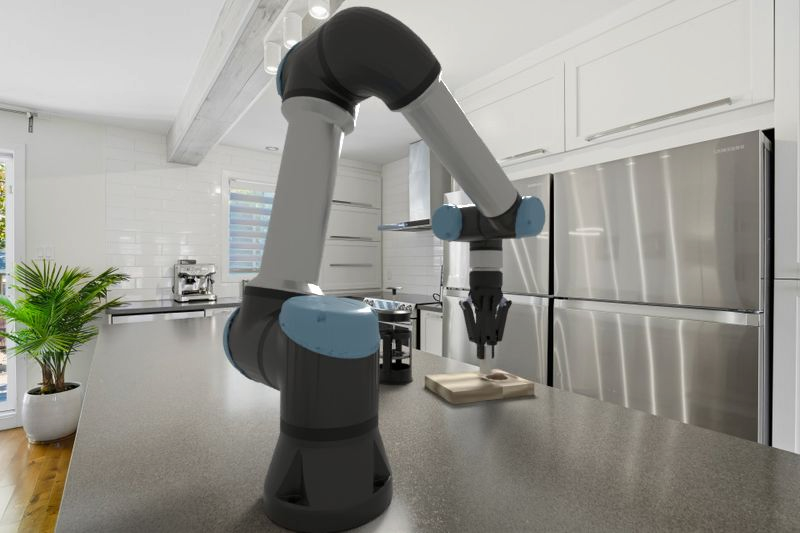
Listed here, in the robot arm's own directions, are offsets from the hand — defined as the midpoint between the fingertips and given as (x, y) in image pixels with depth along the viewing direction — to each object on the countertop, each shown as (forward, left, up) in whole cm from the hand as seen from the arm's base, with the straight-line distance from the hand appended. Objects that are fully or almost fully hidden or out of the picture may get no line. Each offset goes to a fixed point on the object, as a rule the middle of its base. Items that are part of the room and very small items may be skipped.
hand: (485, 373), depth 94 cm
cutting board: (0, +2, -4) cm, 4 cm away
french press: (+14, +17, -4) cm, 23 cm away
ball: (0, -4, -2) cm, 4 cm away
